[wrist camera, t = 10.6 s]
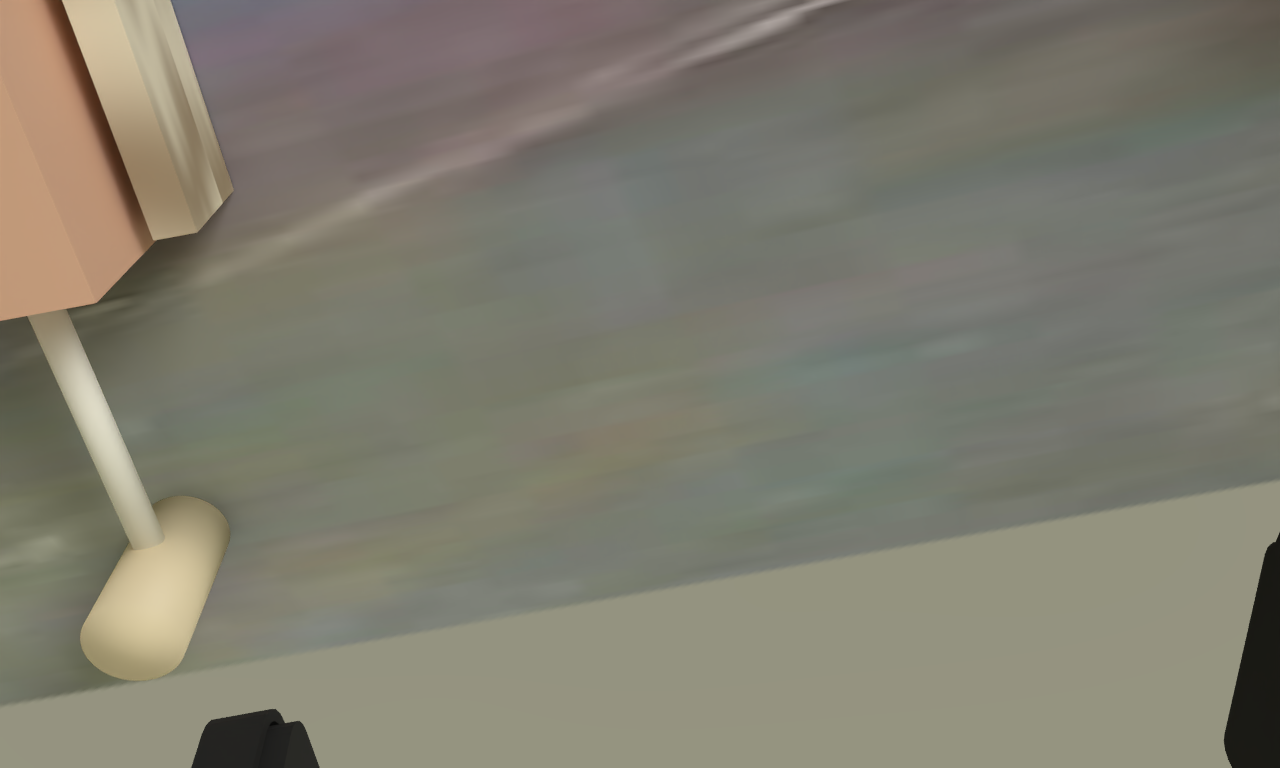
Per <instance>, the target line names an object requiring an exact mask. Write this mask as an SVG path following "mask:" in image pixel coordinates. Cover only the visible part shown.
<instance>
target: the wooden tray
mask: <svg viewBox="0 0 1280 768" xmlns="http://www.w3.org/2000/svg"><path fill="white" fill-rule="evenodd" d="M62 2H63V4H64V7H65V9H66V12H67V15H68V17H69V20H70V23H71V25H72V28H73V30H74V33H75V36H76V38H77V41H78V44H79V46H80V49H81V52H82V54H83V57H84V59H85V62H86V65H87V67H88V70H89V73H90V75H91V78H92V81H93V83H94V86H95V88H96V91H97V94H98V96H99V99H100V102H101V104H102V107H103V109H104V112H105V115H106V117H107V120H108V123H109V125H110V128H111V131H112V133H113V136H114V138H115V141H116V144H117V146H118V149H119V152H120V154H121V157H122V159H123V162H124V165H125V167H126V170H127V173H128V175H129V178H130V181H131V183H132V186H133V188H134V191H135V194H136V196H137V199H138V202H139V204H140V207H141V209H142V212H143V215H144V217H145V220H146V223H147V225H148V228H149V231H150V233H151V236H152V238H153V241H154V240H159V239H165V238H170V237H176V236H181V235H187V234H192V233H197V232H198V231H199V230H200V229H201V228H202V227H203V226H204V224H205V223H206V222H207V221H208V220H209V219H210V217H211V216H212V215H213V214H214V213H215V212H216V210H217V209H218V208H219V207H220V206H221V205H222V203H223V202H224V201H225V200H226V199H227V198H228V196H229V195H230V194H231V193H232V192H233V191H234V189H233V186H232V183H231V180H230V177H229V174H228V171H227V168H226V165H225V162H224V159H223V156H222V153H221V150H220V147H219V144H218V141H217V138H216V135H215V132H214V129H213V126H212V123H211V120H210V117H209V114H208V111H207V108H206V105H205V102H204V99H203V96H202V93H201V90H200V87H199V84H198V82H197V79H196V76H195V73H194V70H193V67H192V64H191V61H190V58H189V55H188V52H187V49H186V46H185V43H184V40H183V37H182V34H181V31H180V28H179V25H178V22H177V19H176V16H175V13H174V10H173V7H172V4H171V1H170V0H62Z"/></svg>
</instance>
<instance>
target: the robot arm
mask: <svg viewBox="0 0 1280 768" xmlns="http://www.w3.org/2000/svg"><path fill="white" fill-rule="evenodd" d="M1224 745H1225V751H1226V754H1227V756H1228V760H1229V762H1230V764H1231V766H1232V768H1280V533H1279V535H1278V538H1277V540H1276V542H1274V543H1272V544H1271V545H1270V546H1269V547H1268V548H1267V551H1266V553H1265V557H1264V561H1263V565H1262V570H1261V574H1260V579H1259V583H1258V588H1257V592H1256V597H1255V601H1254V605H1253V610H1252V615H1251V619H1250V623H1249V628H1248V632H1247V637H1246V641H1245V646H1244V650H1243V654H1242V659H1241V663H1240V668H1239V672H1238V677H1237V681H1236V686H1235V690H1234V695H1233V699H1232V704H1231V708H1230V713H1229V717H1228V721H1227V726H1226V730H1225V736H1224ZM192 768H319V765H318V762H317V759H316V757H315V754H314V751H313V748H312V746H311V743H310V740H309V737H308V735H307V732H306V730H305V727H304V726H303V724H302V723H301V722H300V721H296V722H290V723H285V722H284V720H283V718H282V716H281V714H280V713H279V712H278V711H277V710H276V709H269V710H264V711H259V712H253V713H248V714H242V715H237V716H231V717H226V718H220V719H215V720H211V721H210V722H209V723H208V724H207V725H206V727H205V729H204V731H203V733H202V736H201V739H200V742H199V745H198V748H197V752H196V755H195V758H194V761H193V764H192Z"/></svg>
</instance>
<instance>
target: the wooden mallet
mask: <svg viewBox="0 0 1280 768" xmlns="http://www.w3.org/2000/svg"><path fill="white" fill-rule="evenodd" d="M155 241H156V240H154V241H153V238H152V236H151V233H150V231H149V228H148V225H147V223H146V220H145V217H144V215H143V212H142V209H141V207H140V204H139V202H138V199H137V196H136V194H135V191H134V188H133V186H132V183H131V181H130V178H129V175H128V173H127V170H126V167H125V165H124V162H123V159H122V157H121V154H120V152H119V149H118V146H117V144H116V141H115V138H114V136H113V133H112V131H111V128H110V125H109V123H108V120H107V117H106V115H105V112H104V109H103V107H102V104H101V102H100V99H99V96H98V94H97V91H96V88H95V86H94V83H93V81H92V78H91V75H90V73H89V70H88V67H87V65H86V62H85V59H84V57H83V54H82V52H81V49H80V46H79V44H78V41H77V38H76V36H75V33H74V30H73V28H72V25H71V23H70V20H69V17H68V15H67V12H66V9H65V7H64V4H63V2H62V0H0V321H2V320H8V319H13V318H19V317H24V316H28V319H29V321H30V323H31V325H32V327H33V330H34V332H35V334H36V336H37V339H38V341H39V343H40V345H41V347H42V350H43V352H44V354H45V356H46V358H47V361H48V363H49V365H50V367H51V369H52V372H53V374H54V376H55V378H56V380H57V383H58V385H59V387H60V389H61V391H62V394H63V396H64V398H65V400H66V402H67V405H68V407H69V409H70V411H71V413H72V416H73V418H74V420H75V422H76V424H77V427H78V429H79V431H80V433H81V435H82V438H83V440H84V442H85V444H86V446H87V449H88V451H89V453H90V455H91V457H92V460H93V462H94V464H95V466H96V468H97V471H98V473H99V475H100V477H101V480H102V482H103V484H104V486H105V488H106V491H107V493H108V495H109V497H110V499H111V502H112V504H113V506H114V508H115V510H116V513H117V515H118V517H119V519H120V521H121V524H122V526H123V528H124V530H125V532H126V535H127V537H128V539H129V541H130V542H129V543H128V545H127V547H126V549H125V551H124V552H123V554H122V556H121V558H120V560H119V561H118V563H117V565H116V567H115V569H114V570H113V572H112V574H111V576H110V578H109V579H108V581H107V583H106V585H105V587H104V588H103V590H102V592H101V594H100V596H99V597H98V599H97V601H96V603H95V605H94V607H93V608H92V610H91V612H90V614H89V616H88V617H87V619H86V621H85V623H84V625H83V627H82V630H81V635H80V642H81V646H82V649H83V652H84V654H85V655H86V657H87V658H88V659H89V661H90V662H91V663H92V664H93V665H94V666H95V667H97V668H98V669H100V670H101V671H103V672H104V673H106V674H109V675H111V676H113V677H116V678H120V679H124V680H131V681H145V680H152V679H156V678H159V677H161V676H164V675H166V674H168V673H169V672H171V671H172V670H174V669H175V668H176V667H177V666H178V665H179V664H180V662H181V661H182V659H183V657H184V655H185V652H186V650H187V647H188V645H189V642H190V640H191V637H192V635H193V632H194V630H195V627H196V625H197V622H198V620H199V617H200V615H201V612H202V610H203V607H204V605H205V602H206V600H207V597H208V595H209V592H210V590H211V587H212V585H213V582H214V580H215V577H216V575H217V572H218V570H219V567H220V565H221V562H222V559H223V557H224V554H225V552H226V549H227V547H228V544H229V541H230V528H229V525H228V522H227V520H226V518H225V517H224V515H223V514H222V513H221V512H220V511H219V510H218V509H217V508H216V507H214V506H213V505H211V504H210V503H208V502H206V501H204V500H201V499H198V498H195V497H189V496H174V497H169V498H165V499H162V500H160V501H158V502H156V503H155V504H153V505H151V503H150V501H149V498H148V496H147V494H146V492H145V489H144V487H143V485H142V482H141V480H140V478H139V475H138V473H137V471H136V469H135V466H134V464H133V462H132V459H131V457H130V455H129V452H128V450H127V448H126V445H125V443H124V441H123V439H122V436H121V434H120V432H119V429H118V427H117V425H116V422H115V420H114V418H113V415H112V413H111V411H110V409H109V406H108V404H107V402H106V399H105V397H104V395H103V392H102V390H101V388H100V386H99V383H98V381H97V379H96V376H95V374H94V372H93V369H92V367H91V365H90V362H89V360H88V358H87V356H86V353H85V351H84V349H83V346H82V344H81V342H80V339H79V337H78V335H77V333H76V330H75V328H74V326H73V323H72V321H71V319H70V316H69V314H68V312H67V308H73V307H78V306H84V305H89V304H94V303H97V302H98V301H99V300H100V299H101V298H102V297H103V296H104V294H105V293H106V292H107V291H108V290H109V289H110V288H111V287H112V286H113V285H114V284H115V283H116V282H117V281H118V280H119V279H120V278H121V277H122V276H123V275H124V274H125V273H126V272H127V271H128V269H129V268H130V267H131V266H132V265H133V264H134V263H135V262H136V261H137V260H138V259H139V258H140V257H141V256H142V255H143V254H144V253H145V252H146V251H147V250H148V249H149V248H150V247H151V245H152V244H153V243H154V242H155Z"/></svg>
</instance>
